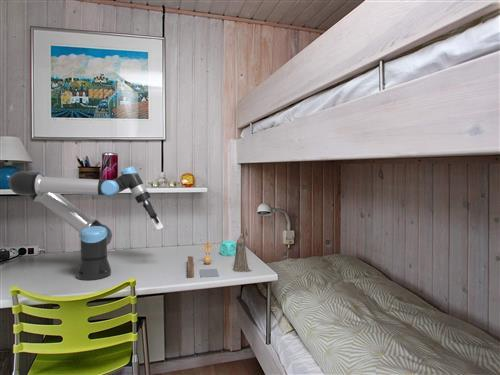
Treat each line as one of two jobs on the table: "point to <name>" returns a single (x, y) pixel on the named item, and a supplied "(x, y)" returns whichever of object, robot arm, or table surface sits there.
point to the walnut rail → (190, 267)
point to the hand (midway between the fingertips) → (160, 228)
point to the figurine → (207, 259)
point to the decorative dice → (228, 248)
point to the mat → (208, 273)
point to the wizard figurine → (241, 254)
